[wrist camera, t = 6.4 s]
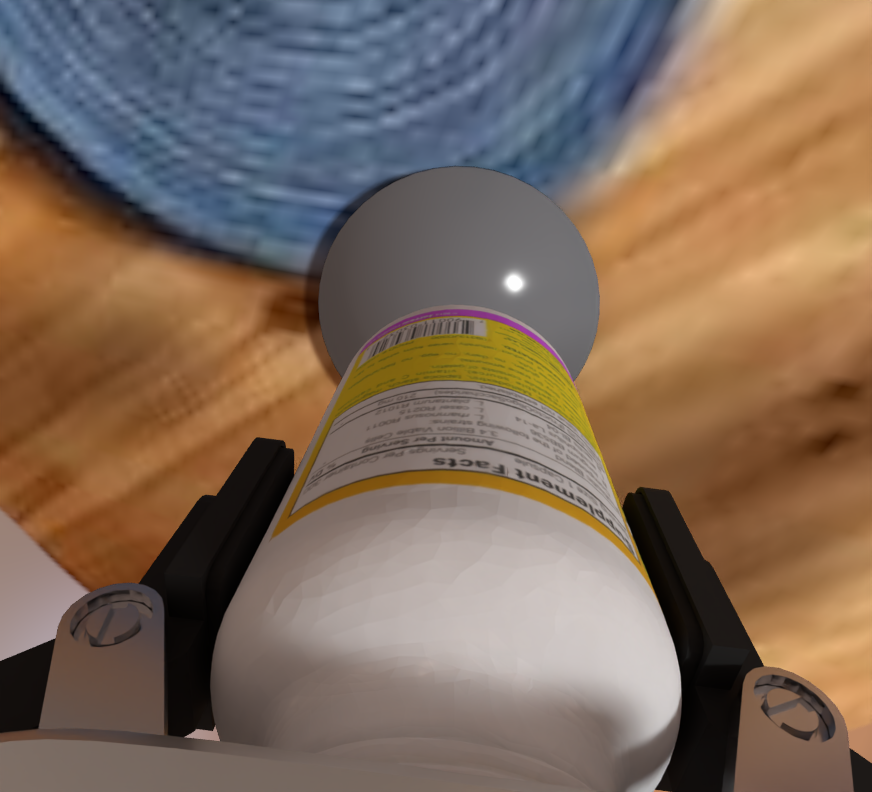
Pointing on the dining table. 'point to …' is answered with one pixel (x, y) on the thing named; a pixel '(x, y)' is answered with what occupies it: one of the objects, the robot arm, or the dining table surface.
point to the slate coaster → (459, 261)
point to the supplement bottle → (454, 577)
